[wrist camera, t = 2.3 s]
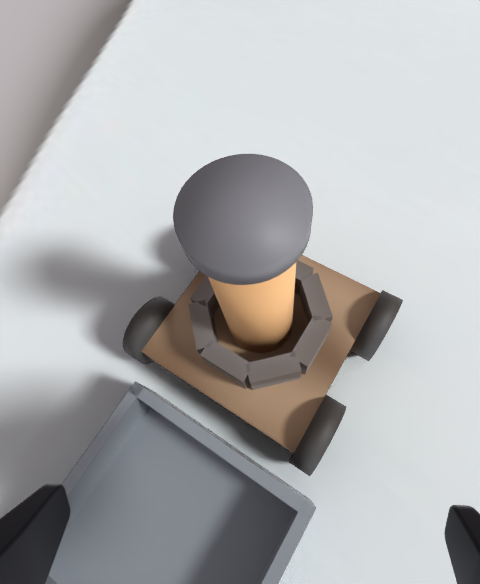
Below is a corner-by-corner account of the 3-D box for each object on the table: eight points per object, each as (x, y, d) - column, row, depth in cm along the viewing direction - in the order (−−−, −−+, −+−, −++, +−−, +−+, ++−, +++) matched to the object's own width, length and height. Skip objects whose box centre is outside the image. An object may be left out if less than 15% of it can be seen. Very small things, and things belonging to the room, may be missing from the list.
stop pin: (274, 375, 21) (265, 296, 11) (208, 335, 22) (145, 231, 12) (313, 309, 22) (338, 184, 12) (248, 275, 23) (222, 136, 13)
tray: (195, 726, 18) (176, 784, 15) (33, 566, 21) (-11, 585, 18) (311, 500, 21) (316, 507, 18) (154, 392, 24) (135, 381, 21)
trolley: (307, 474, 21) (313, 478, 17) (137, 360, 25) (105, 338, 21) (391, 314, 25) (415, 281, 20) (229, 233, 28) (219, 190, 24)
